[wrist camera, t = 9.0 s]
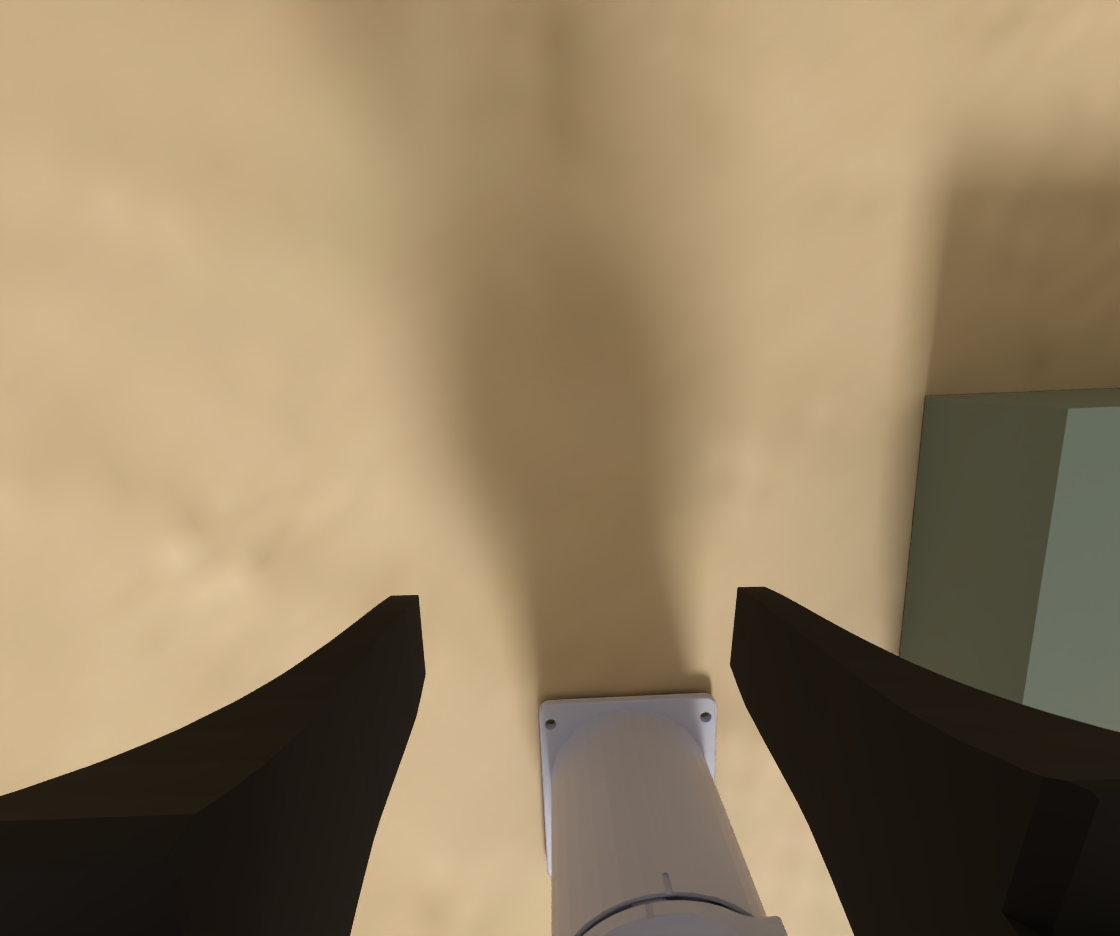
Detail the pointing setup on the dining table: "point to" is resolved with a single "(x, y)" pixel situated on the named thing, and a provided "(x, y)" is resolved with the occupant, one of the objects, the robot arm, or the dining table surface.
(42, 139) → the dining table surface
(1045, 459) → the box
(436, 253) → the dining table surface
